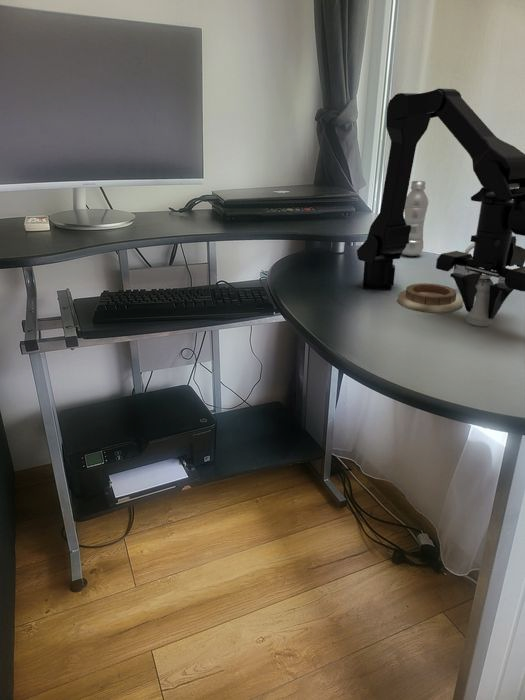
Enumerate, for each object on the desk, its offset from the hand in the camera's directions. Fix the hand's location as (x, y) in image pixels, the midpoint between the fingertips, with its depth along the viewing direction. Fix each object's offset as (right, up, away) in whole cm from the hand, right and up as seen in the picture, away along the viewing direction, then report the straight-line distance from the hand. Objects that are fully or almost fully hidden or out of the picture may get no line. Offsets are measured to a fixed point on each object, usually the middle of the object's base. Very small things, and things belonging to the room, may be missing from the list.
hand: (480, 314), depth 95 cm
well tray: (-6, +4, +12) cm, 14 cm away
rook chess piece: (0, -2, +1) cm, 2 cm away
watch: (+7, +6, +19) cm, 21 cm away
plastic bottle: (+1, +20, +50) cm, 54 cm away
